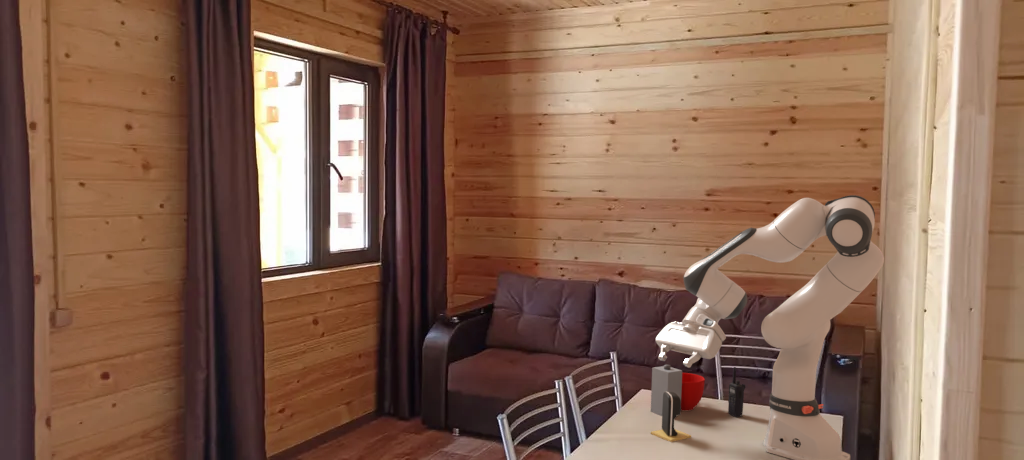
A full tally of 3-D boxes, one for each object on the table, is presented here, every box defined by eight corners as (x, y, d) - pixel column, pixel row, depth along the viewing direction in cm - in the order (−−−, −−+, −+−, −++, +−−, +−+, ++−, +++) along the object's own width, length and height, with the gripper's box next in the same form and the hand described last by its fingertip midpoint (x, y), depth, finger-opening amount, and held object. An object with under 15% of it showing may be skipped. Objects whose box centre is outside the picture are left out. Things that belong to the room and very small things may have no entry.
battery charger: (681, 437, 212) (682, 396, 212) (667, 436, 212) (669, 396, 211) (674, 429, 219) (675, 390, 218) (661, 429, 219) (662, 390, 218)
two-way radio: (725, 413, 239) (727, 366, 239) (738, 412, 241) (740, 365, 240) (735, 418, 234) (737, 370, 233) (748, 417, 235) (750, 369, 235)
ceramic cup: (707, 402, 251) (709, 372, 251) (700, 415, 235) (701, 384, 235) (668, 397, 256) (669, 368, 255) (658, 410, 240) (659, 379, 240)
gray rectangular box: (680, 414, 236) (682, 366, 235) (666, 417, 233) (668, 368, 232) (663, 408, 242) (665, 361, 241) (649, 411, 239) (651, 363, 238)
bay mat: (691, 437, 214) (691, 435, 214) (670, 442, 209) (670, 439, 209) (670, 429, 221) (671, 427, 220) (650, 433, 216) (650, 431, 216)
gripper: (666, 313, 225) (641, 349, 220) (721, 323, 209) (695, 362, 203) (676, 327, 228) (651, 362, 223) (731, 338, 211) (706, 376, 206)
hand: (673, 362), depth 213 cm, fingers open, 8 cm apart
